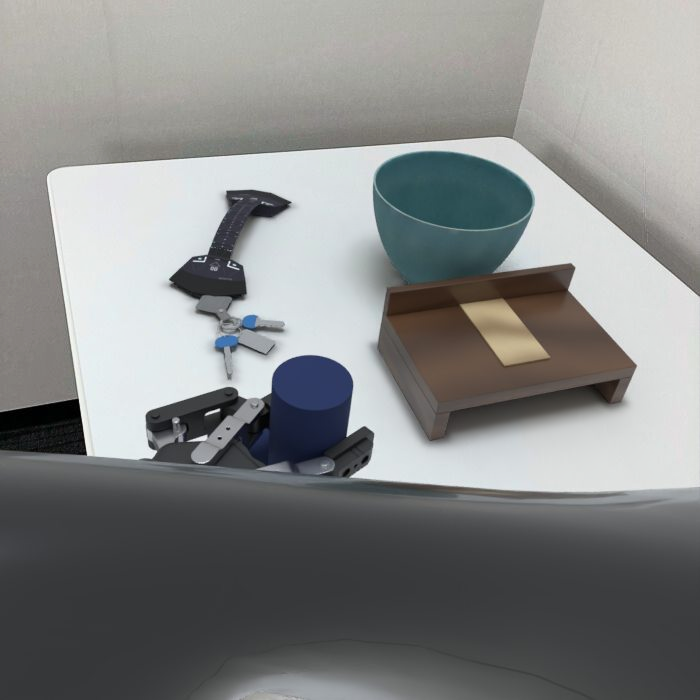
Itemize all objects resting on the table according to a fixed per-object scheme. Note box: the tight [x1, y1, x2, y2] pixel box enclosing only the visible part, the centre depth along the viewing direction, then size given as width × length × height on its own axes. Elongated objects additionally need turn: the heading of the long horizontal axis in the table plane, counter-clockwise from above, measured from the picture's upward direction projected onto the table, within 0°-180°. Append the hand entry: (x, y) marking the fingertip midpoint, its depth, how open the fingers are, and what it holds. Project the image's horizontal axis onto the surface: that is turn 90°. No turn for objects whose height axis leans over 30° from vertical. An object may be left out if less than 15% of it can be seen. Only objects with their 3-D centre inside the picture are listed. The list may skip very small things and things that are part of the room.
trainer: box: [206, 354, 354, 466], centre depth 50 cm, size 9×5×11 cm, turn 50°
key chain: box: [195, 295, 286, 376], centre depth 83 cm, size 14×8×1 cm, turn 24°
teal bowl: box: [372, 150, 536, 284], centre depth 91 cm, size 18×18×12 cm
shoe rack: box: [376, 262, 638, 441], centre depth 79 cm, size 14×22×8 cm, turn 110°
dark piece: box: [168, 189, 292, 299], centre depth 95 cm, size 9×25×3 cm, turn 170°
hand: (338, 415), depth 50 cm, fingers closed on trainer, 5 cm apart
